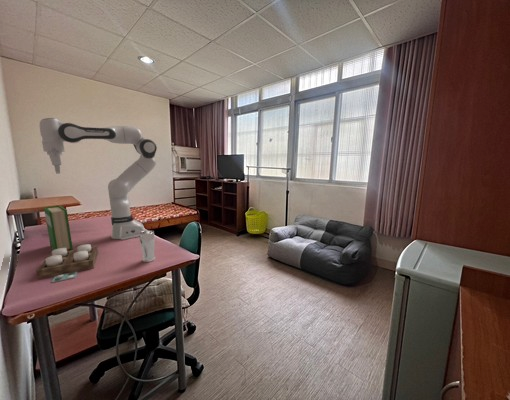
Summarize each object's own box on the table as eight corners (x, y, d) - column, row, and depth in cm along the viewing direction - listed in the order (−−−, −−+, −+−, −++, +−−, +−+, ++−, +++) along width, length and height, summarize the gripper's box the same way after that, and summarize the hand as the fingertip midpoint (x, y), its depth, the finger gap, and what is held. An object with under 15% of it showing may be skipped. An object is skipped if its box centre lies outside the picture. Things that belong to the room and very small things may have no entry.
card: (77, 272, 102) (77, 271, 102) (75, 277, 97) (75, 276, 97) (55, 276, 99) (55, 275, 98) (51, 282, 93) (51, 281, 93)
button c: (89, 256, 111) (88, 249, 111) (87, 260, 106) (87, 253, 106) (75, 258, 108) (74, 252, 108) (73, 263, 104) (72, 256, 103)
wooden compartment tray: (98, 253, 123) (97, 246, 123) (93, 268, 106) (92, 260, 106) (51, 261, 113) (49, 254, 113) (38, 279, 96) (36, 270, 96)
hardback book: (72, 249, 129) (66, 209, 124) (56, 253, 123) (49, 211, 119) (66, 242, 140) (60, 205, 136) (50, 245, 134) (43, 207, 130)
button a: (92, 249, 120) (91, 243, 119) (90, 253, 115) (89, 246, 114) (79, 251, 117) (78, 245, 116) (77, 255, 112) (76, 249, 112)
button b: (68, 253, 115) (67, 247, 114) (66, 257, 110) (65, 250, 109) (54, 255, 112) (53, 249, 111) (51, 259, 107) (50, 253, 107)
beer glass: (140, 263, 111) (137, 235, 109) (143, 257, 118) (140, 230, 115) (155, 261, 113) (152, 233, 111) (157, 256, 120) (155, 229, 117)
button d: (64, 260, 106) (62, 253, 106) (61, 265, 102) (60, 258, 101) (48, 263, 104) (47, 256, 103) (44, 268, 99) (43, 261, 98)
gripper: (61, 147, 118) (66, 173, 120) (60, 149, 133) (64, 172, 135) (45, 147, 114) (50, 174, 116) (46, 149, 129) (50, 172, 131)
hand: (58, 173), depth 126 cm, fingers open, 8 cm apart
